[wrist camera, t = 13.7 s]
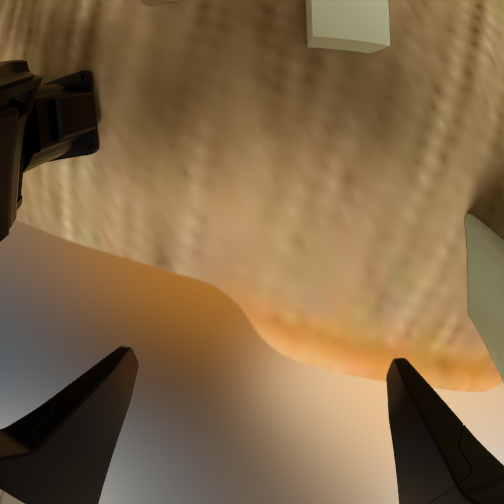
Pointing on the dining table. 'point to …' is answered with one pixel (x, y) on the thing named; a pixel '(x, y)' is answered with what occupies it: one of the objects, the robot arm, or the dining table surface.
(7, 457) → the robot arm
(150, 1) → the birch block
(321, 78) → the dining table surface
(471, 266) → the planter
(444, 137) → the dining table surface
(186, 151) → the dining table surface
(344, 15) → the sage block
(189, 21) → the dining table surface
